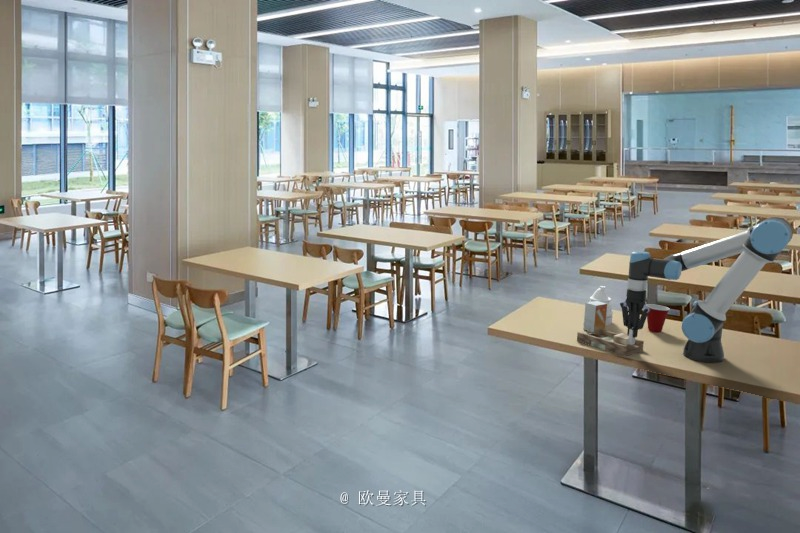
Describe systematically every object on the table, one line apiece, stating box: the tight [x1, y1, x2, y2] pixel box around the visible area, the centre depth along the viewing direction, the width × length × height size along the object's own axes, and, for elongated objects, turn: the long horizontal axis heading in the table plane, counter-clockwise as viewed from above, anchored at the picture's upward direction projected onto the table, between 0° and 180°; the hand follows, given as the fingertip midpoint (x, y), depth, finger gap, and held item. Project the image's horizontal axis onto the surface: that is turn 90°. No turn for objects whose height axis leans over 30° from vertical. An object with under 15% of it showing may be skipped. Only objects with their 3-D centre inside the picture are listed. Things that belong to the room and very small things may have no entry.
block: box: [613, 332, 634, 348], centre depth 269 cm, size 6×6×4 cm
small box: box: [583, 301, 607, 333], centre depth 296 cm, size 8×6×13 cm
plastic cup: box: [646, 303, 671, 334], centre depth 297 cm, size 11×11×12 cm
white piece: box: [588, 285, 614, 326], centre depth 310 cm, size 13×13×18 cm
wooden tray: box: [576, 328, 645, 357], centre depth 275 cm, size 24×13×4 cm, turn 37°
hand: (631, 343), depth 266 cm, fingers closed
